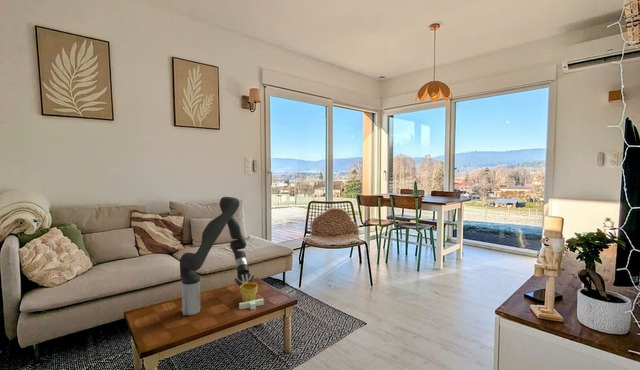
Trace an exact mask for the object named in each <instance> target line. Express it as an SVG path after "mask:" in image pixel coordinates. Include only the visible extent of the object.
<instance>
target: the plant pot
mask: <svg viewBox="0 0 640 370" xmlns="http://www.w3.org/2000/svg"><path fill="white" fill-rule="evenodd" d="M239 292H240V294H241V298H242V302H247V301H252V300H256V295H257V292H258V284H257V283H255V282H251V283H249V282H248V283H245V284H242V285H241V286H239Z"/></svg>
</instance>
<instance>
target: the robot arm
mask: <svg viewBox="0 0 640 370" xmlns="http://www.w3.org/2000/svg"><path fill="white" fill-rule="evenodd" d="M219 207H220V208H219V209H220V211H221V214H219V215H218V216H217V217H215V218H213V219H211V220H210V221H209V222H208V223H207V225H206V226H205V228H204V229H203V231H202V234H201V244H200V246H199V248H198V249H197V250H196V252H195V253H194V252H185V253H183V254H182V255H181V257H180V260H179V273H180V275H179V276H180V278H181V282H182V283H181V289H182V290H181V292H182V293H181V306H182V308H181V309H182V311H181V312H182V316H192V315H193V316H194V315H197V314H198V313H199V312H201V276H200V274H198V273H197V272H196V271H198V270H200V269H201V268H202V266H203V265H204V263H205V261H206V259H207V257H208V255H209V253H210V252H211V249H212V248H213V246H214V244H215V243H216V241H217V239H219V237H220V235H221V233H222V232H223V231H224V229H225V227H226V226H227V227H228V232H229V234H230V238H231V239H232V240H231V241H230V243H229V247H230V249H231V251H232V253H233V255H234V260H235V269H236V274H237V276H236V277H235V278H234V280H233V281H234V282H235V283H236V285H238V286H239V287H240V286H241V285H242V284H245V283H253V281H254V280H253V279H255V275H251V273H250V269H249V263H248V260H247V256H246V251H244V249H245V248H246V247H247V241H246V240H245V238H244V237H243V235H242V231H241V227H240V225H239V223H238V221H237V219H236V218H235V217H234V215H235V213H236V212H237V211H238V210H239V208H240V200H239V198H236V197H232V196H223V197H221V198H220V200H219ZM249 279H250V280H249Z"/></svg>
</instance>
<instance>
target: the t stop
mask: <svg viewBox="0 0 640 370" xmlns="http://www.w3.org/2000/svg"><path fill="white" fill-rule="evenodd" d="M264 305H265V301H264V298H259V299H255V300H252V301H247V302H243V301H242V302H239V303H238V309H239V310H244V309H250V310H256V309H257V307H259V306H264Z"/></svg>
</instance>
